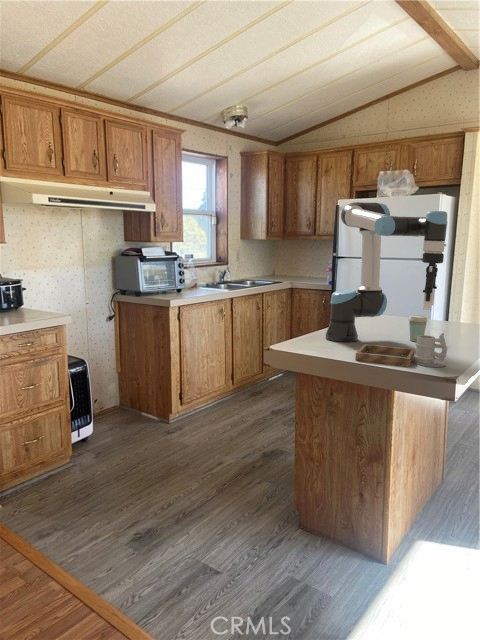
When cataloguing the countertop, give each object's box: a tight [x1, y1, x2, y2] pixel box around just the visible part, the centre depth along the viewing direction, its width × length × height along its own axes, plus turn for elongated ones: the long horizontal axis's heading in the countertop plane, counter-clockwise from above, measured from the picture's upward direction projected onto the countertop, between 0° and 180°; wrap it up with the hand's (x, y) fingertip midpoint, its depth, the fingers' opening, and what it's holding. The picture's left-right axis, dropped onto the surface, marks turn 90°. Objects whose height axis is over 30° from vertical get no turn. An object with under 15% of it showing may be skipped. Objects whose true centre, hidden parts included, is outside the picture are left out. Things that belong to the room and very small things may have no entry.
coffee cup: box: [408, 314, 428, 343], centre depth 228 cm, size 9×8×12 cm
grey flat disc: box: [414, 359, 446, 368], centre depth 186 cm, size 11×11×1 cm
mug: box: [413, 332, 448, 364], centre depth 185 cm, size 8×12×12 cm, turn 57°
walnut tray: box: [355, 343, 416, 367], centre depth 194 cm, size 20×18×3 cm
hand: (428, 307), depth 187 cm, fingers open, 13 cm apart
